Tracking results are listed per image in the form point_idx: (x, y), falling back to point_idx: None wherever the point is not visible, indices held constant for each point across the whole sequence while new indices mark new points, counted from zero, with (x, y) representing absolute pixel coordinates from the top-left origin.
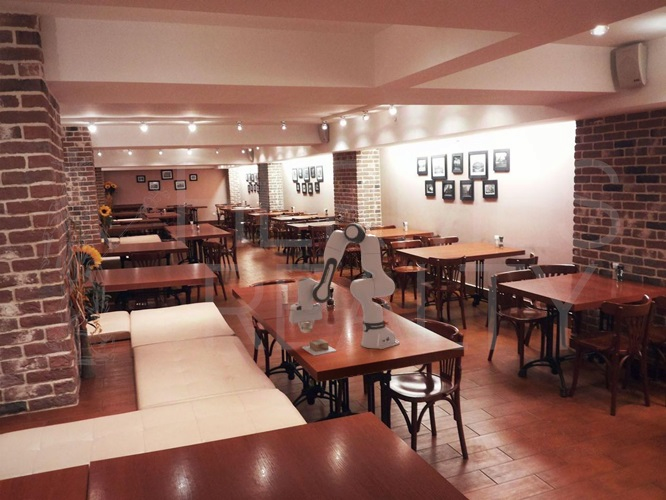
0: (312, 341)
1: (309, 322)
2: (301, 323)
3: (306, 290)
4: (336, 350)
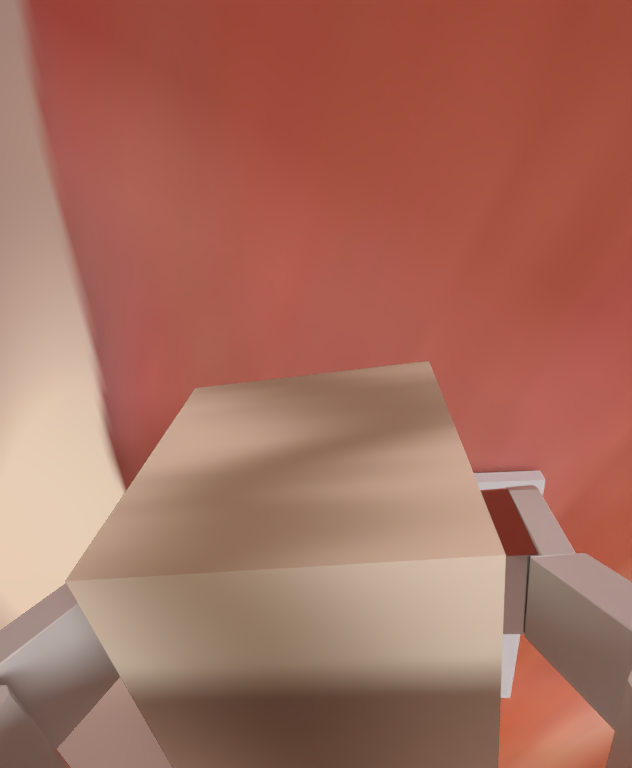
0: None
1: (500, 666)
2: (107, 646)
3: None
4: (507, 696)
